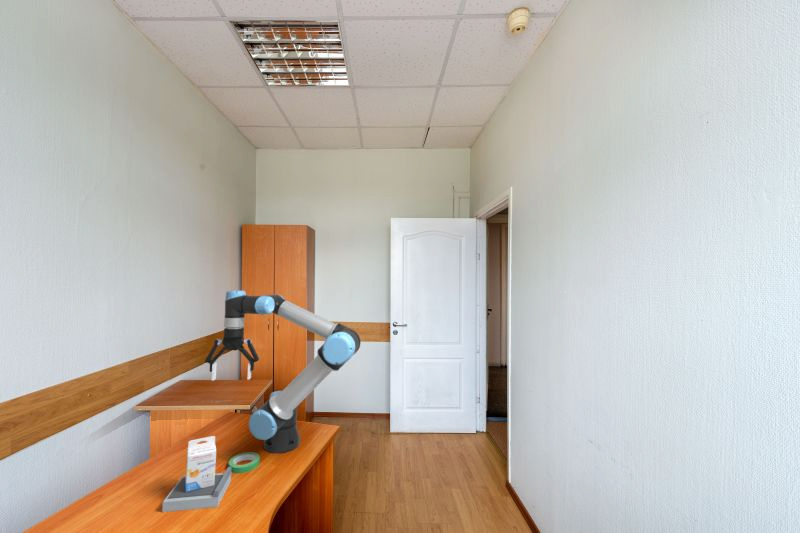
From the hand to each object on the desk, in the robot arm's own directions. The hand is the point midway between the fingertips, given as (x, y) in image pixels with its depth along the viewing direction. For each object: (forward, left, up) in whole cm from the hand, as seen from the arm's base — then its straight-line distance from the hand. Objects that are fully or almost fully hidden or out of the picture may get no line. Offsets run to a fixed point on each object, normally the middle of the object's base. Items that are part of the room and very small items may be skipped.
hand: (231, 379), depth 138 cm
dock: (+2, +24, -32) cm, 40 cm away
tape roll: (-8, +7, -32) cm, 34 cm away
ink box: (+2, +24, -29) cm, 37 cm away
